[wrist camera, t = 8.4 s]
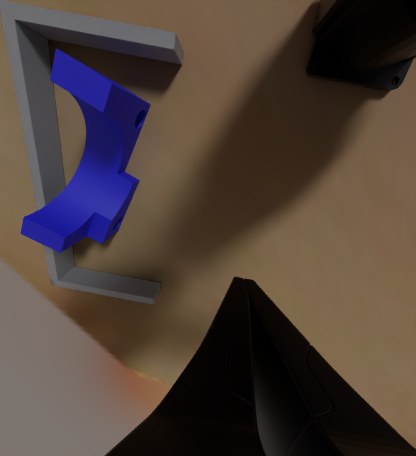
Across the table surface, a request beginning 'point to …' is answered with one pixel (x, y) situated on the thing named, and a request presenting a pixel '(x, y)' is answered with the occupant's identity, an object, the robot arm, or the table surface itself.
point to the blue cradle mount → (92, 161)
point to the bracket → (47, 117)
